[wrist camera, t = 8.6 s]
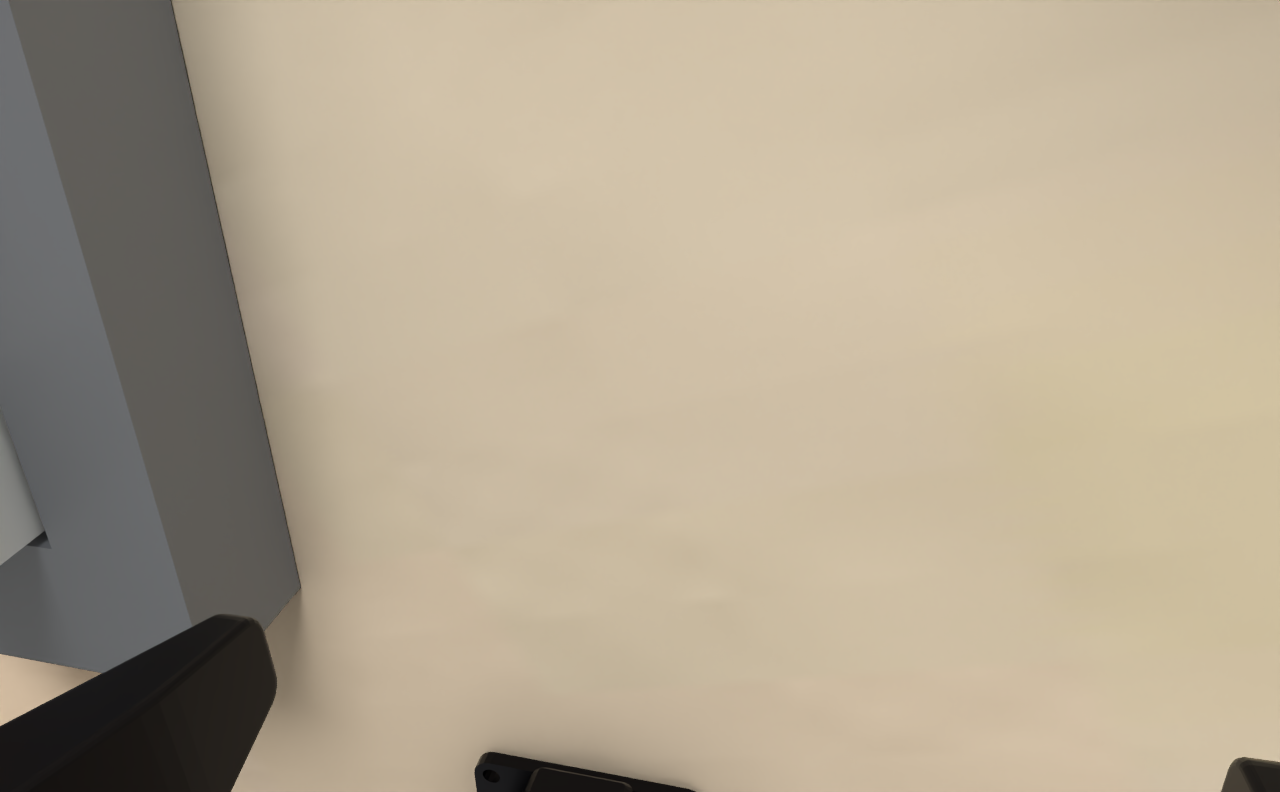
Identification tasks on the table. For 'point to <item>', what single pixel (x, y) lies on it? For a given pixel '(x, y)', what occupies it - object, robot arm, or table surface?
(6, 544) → the grey plug
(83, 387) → the block
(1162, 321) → the table surface
